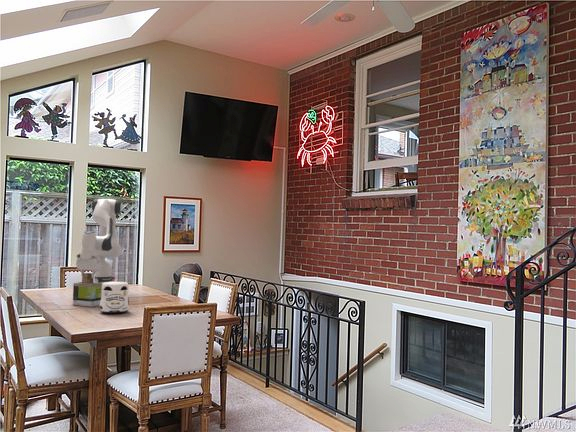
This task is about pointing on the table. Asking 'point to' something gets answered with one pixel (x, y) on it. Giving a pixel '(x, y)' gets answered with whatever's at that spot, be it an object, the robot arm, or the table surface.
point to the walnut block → (87, 278)
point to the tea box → (87, 294)
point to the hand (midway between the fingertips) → (87, 276)
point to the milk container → (114, 297)
